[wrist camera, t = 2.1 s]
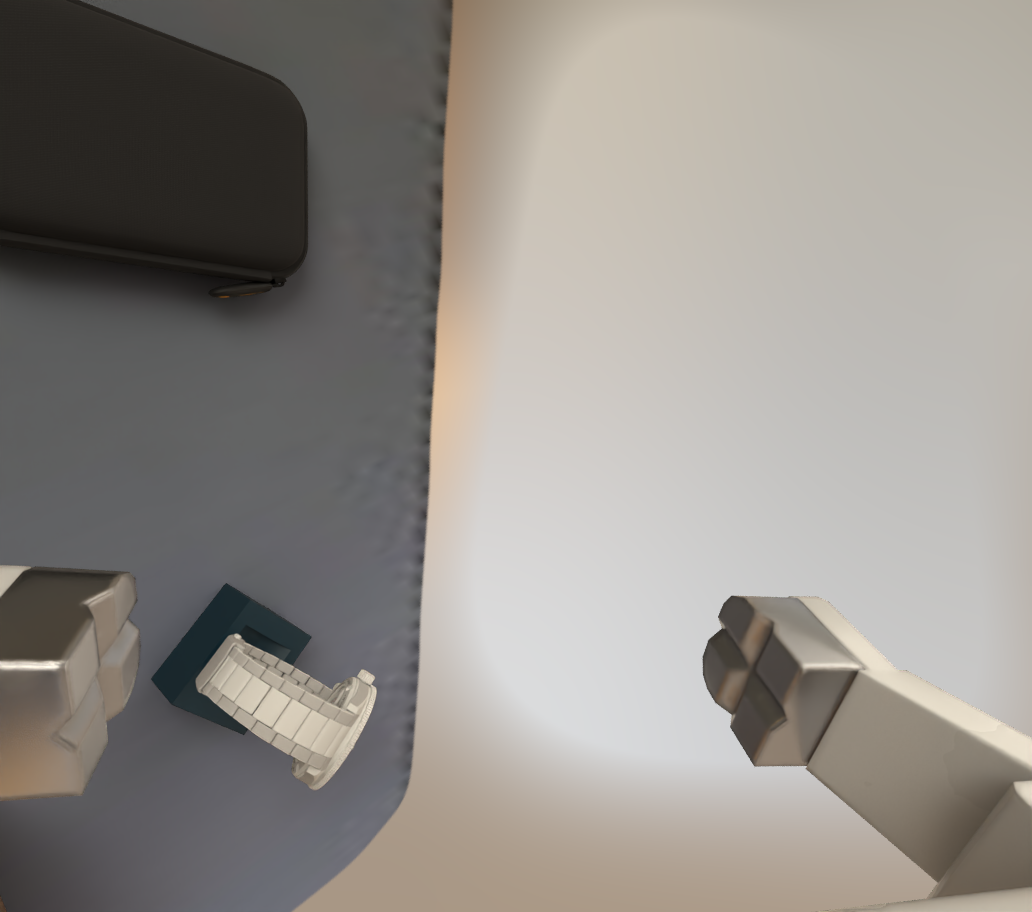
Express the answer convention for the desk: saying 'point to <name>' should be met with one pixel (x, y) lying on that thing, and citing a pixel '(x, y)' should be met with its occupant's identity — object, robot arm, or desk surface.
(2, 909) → the wooden display stand
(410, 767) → the desk surface
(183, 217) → the carrying case
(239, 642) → the watch
